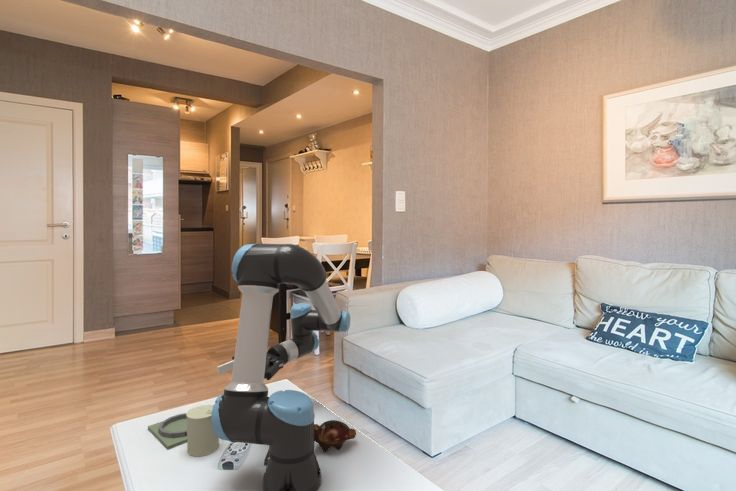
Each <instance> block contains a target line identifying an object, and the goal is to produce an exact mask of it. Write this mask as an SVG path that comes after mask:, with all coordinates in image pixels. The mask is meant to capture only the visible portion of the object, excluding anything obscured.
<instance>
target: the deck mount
mask: <svg viewBox="0 0 736 491" xmlns="http://www.w3.org/2000/svg"><path fill="white" fill-rule="evenodd" d="M186 414H187V412H183V413H178V414H175V415H173V416H170V417H168V418H166V419H164V420H163V421H160V422H159V421H158V422H157V423H154V424H151V425H148V426H147V430H148V431H149V432H150V433H151V434H152V435H153V436H154V437H155V438H156V439H157V440H158V442H160V444H162V445H163V446H164V448H165V449H166V450H170V449H174V448H176V447H178V446H181V445H183V444H186V443H187V416H186Z"/></svg>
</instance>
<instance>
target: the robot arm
mask: <svg viewBox="0 0 736 491" xmlns="http://www.w3.org/2000/svg"><path fill="white" fill-rule="evenodd" d="M231 273H232V279H233V281H235V282H236V283H237V288H238V290H239V291H240V292H241V302H240V303H241V304H240V311H239V319H238V325H237V326H238V327H237V334H236V340H235V341H236V342H235V350H234V356H232V357H231V359H232V360H230V361H228V362H226V363H222V364H221V365H217V366H216V370H217V371H216V372H217V375H219V376H220V375H223V374H224V373H227V372H229V371H230V372H231V371H232V372H231V380H230V382H229V383H228V384H227V385H226V386H224V389H223V393H221V394H219V396H217V397H216V399H215V400H214V404H213V409H212V415H211V422H212V428H213V431H214V433H215V434H216V436H217V437H218V438H219V440H221V441H227V442H229V443H241V444H243V443H244V444H253V445H264V446H269V447H268V448H269V449H268V452H269V454H268V455H269V456H268V461H267V465H266V467H265V472H264V474H263V476H262V477H263V478H262V491H319V490H318V489H320V487H321V484H322V471H321V467H320V464H319V461H318V459H317V456H316V453H315V441H314V424H315V417H316V416H315V411H314V409H315V408H314V403H313V400H312V399H311V397H310V396H309V395H308V394H306V393H305V392H302V391H299V390H294V389H285V390H278V391H274V392H273V393H271V394H270V396H269V387H268V386H267V385H266V384H265V382H264V381H265V380H266V381H270V380H271V379H272V378H273V377H274V376H275V375H276V374H277V373H278V372H279V371H280V370H281V369H283V368H284V365H286V364H288V363H289V364H290V363H291V362H292V361H295V360H297V359H299V358H303V357H304V356H306V355H310V354H311V353H313V352H314V351H316V350H317V349H318V348H319V347H320V346H319V345H320V340H319V338H318V337H319V336H318V335H317V334H316V333H315V332H317V331H318V332H334V333H335V332H336V333H343V332H344V333H346V332H348V331H349V330H350V326H351V314H350V312H349V311H346V310H341V309H340V307H339V305H338V303H337V301H336V298H335V296H334V294H333V292H332V290H331V288H330V286H329V284H328V281H327V272H326V269H325V267H324V266H323V264H322V263H321V261H320V260H319V259H318V258H317V256H315V254H313V253H311V252H310V251H309V250H307V249H305V248H304V247H302V246H300V245H297V244H292V243H258V242H257V243H252V244H251V243H250V244H244V245H242V246H241V247H240V248H238V250H237V251H236V252H235V255H234V256H233V259H232V263H231ZM280 285H294V286H296V287H298V289H299V290H301V291H302V292H304V293H305V294H306V297H307V298H308V300H309V302H310V303H311V304H309V303H306V302H299V303H296V304H293V305H292V306H291V308H290V325H291V338H290V339H287V340H285V341H283V342H280V343H278V344H274V345H273V346H272V345H271V346H270V347H269V348H268V344H269V336H270V328H271V318H272V308H273V299H274V296H275V295H276V294H277V293H279V292H280ZM312 306H313V308H314V309H312ZM314 331H315V332H314Z"/></svg>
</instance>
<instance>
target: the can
mask: <svg viewBox="0 0 736 491" xmlns="http://www.w3.org/2000/svg"><path fill="white" fill-rule="evenodd" d="M213 405H214V404H213ZM213 405H212V404H204V405H199V406H195V407H192V408H190V409H189V410H188V411H187V412H186V413H187V414H186V416H187V442H186V443H187V444H186V445H187V449H186V453H187V455H189V456H192V457H203V456H204V457H205V456H208V455H210V454H213V453H214V452H216V451H217V450H218V449H219V447H220V441H219V440H220V439H219V438H218V437H217V436H216V434H215V433H214V431H213V428H212V422H211V415H212V409H213Z"/></svg>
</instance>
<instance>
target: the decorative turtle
mask: <svg viewBox="0 0 736 491" xmlns="http://www.w3.org/2000/svg"><path fill="white" fill-rule="evenodd" d="M356 436H357V431H356V430H355V428H350V427H349V426H348V424H346V423H344V422H343V421H340V420H336V419H331V420H327V421H325V422H323V423H321V424H320V425H319V424H318V423H317V424H316V423H314V443H317V444H318V445H319V447H320V449H321V451H322V452H323V453H327V452H328V451H329V450H330V449H331V448H332V447H333V448H334V449H335V450H337V451H340V450H341V449H342V448H343V446H344V444H345V442H347V441H348V440H354V439H355V437H356Z"/></svg>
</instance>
